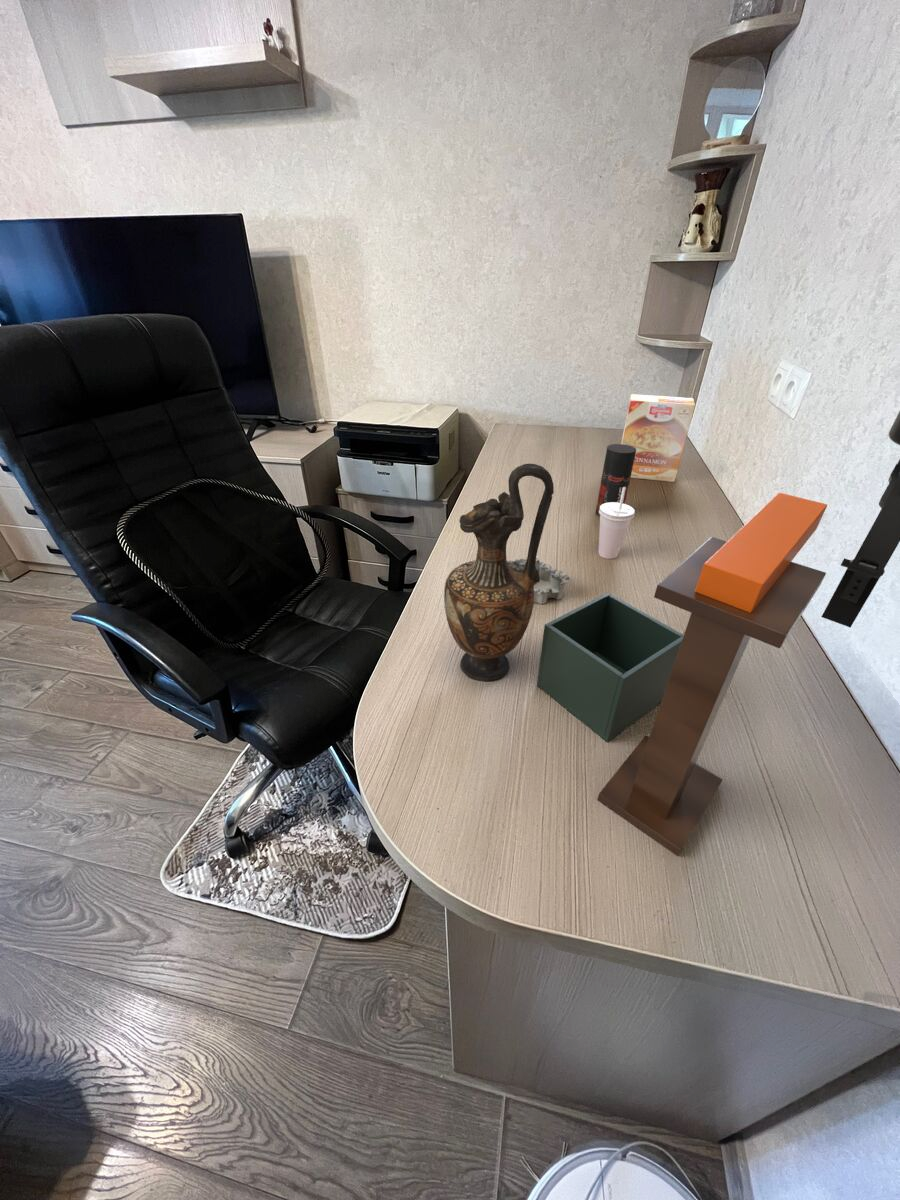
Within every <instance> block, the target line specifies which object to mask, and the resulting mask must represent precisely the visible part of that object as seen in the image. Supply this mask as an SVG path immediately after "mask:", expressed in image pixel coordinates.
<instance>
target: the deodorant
mask: <svg viewBox="0 0 900 1200" xmlns="http://www.w3.org/2000/svg"><path fill="white" fill-rule="evenodd" d="M635 454H636V448H635V447H633V446H630V445H625V444H621V443H613V444H608V445H606V452H605V457H604V463H603V467H602V474H601V478H600V479H601V480H600V485H599V491H598V496H597V502H596V507H595V515H596V516H597V517H599V518H600V514H599V510H600V506H601V505H602V504H604V503H609V502H617V503H620V499H621V494H622V489H623V487H626V490H625V495H624V500H623V504H626V500H627V497H628V491H629V487H630V482H631V479H632V478H631V473H632V468H633V463H634V459H635Z"/></svg>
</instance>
